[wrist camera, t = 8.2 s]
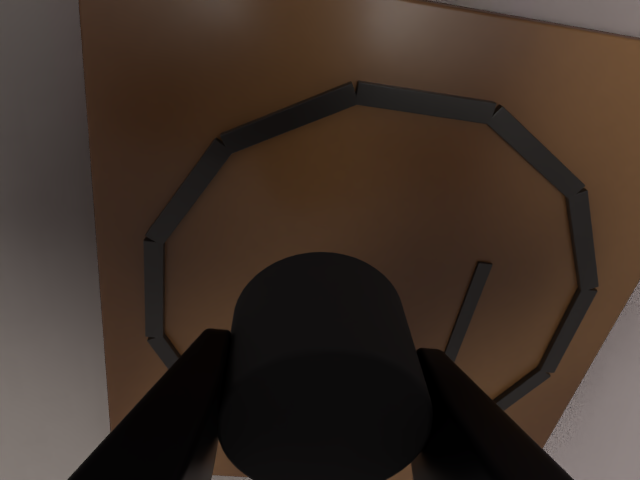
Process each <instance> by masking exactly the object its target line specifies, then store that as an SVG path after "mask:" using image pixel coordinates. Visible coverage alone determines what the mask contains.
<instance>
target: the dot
mask: <svg viewBox="0 0 640 480" xmlns="http://www.w3.org/2000/svg"><path fill="white" fill-rule="evenodd" d="M432 422H433V405H432V402H431V398H430V395H429V391H428V388H427V385H426V382H425V378H424V375H423V372H422V368H421V365H420V362H419V359H418V355H417V352H416V349H415V345H414V342H413V339H412V336H411V332H410V329H409V326H408V323H407V319H406V316H405V313H404V309H403V306H402V303H401V300H400V297H399V295H398V293H397V291H396V289H395V288H394V286H393V285H392V283H391V282H390V281H389V280H388V279H387V278H386V277H385V275H383V274H382V273H381V272H380V271H378V270H377V269H376V268H374V267H373V266H371V265H369V264H368V263H366V262H364V261H362V260H359V259H357V258H355V257H351V256H348V255H344V254H339V253H333V252H309V253H303V254H297V255H294V256H290V257H287V258H284V259H282V260H279V261H277V262H275V263H273V264H271V265H270V266H268V267H266V268H265V269H263V270H262V271H261V272H259V273H258V274H257V275H256V276H255V277H254V278H253V279H252V280H251V281H250V282H249V283H248V284H247V285H246V287H245V288H244V289H243V291H242V292H241V294H240V296H239V298H238V300H237V303H236V306H235V309H234V314H233V320H232V326H231V340H230V347H229V353H228V359H227V365H226V371H225V377H224V383H223V389H222V395H221V400H220V408H219V417H218V429H217V436H218V440H219V442H220V445H221V447H222V450H223V452H224V453H225V455H226V456H227V458H228V459H229V460H230V461H231V463H232V464H233V465H234V466H235V467H236V468H237V469H238V470H240V471H241V472H242V473H243V474H245V475H246V476H248V477H249V478H251V479H252V480H387V479H389V478H391V477H393V476H394V475H396V474H397V473H399V472H400V471H402V470H403V469H404V468H405V467H407V466H408V465H409V464H410V463H411V462H412V461H413V460H414V459H415V458H416V457H417V456H418V455H419V453H420V452H421V450H422V449H423V448H424V446H425V444H426V442H427V440H428V438H429V435H430V432H431V428H432Z"/></svg>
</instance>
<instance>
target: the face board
mask: <svg viewBox="0 0 640 480" xmlns="http://www.w3.org/2000/svg"><path fill="white" fill-rule="evenodd" d="M79 13H80V26H81V40H82V53H83V67H84V80H85V94H86V107H87V121H88V134H89V148H90V161H91V175H92V188H93V202H94V215H95V229H96V242H97V256H98V269H99V283H100V296H101V310H102V323H103V337H104V351H105V364H106V378H107V391H108V405H109V418H110V432H112V430H113V429H114V428H115V427H116V426H117V425H118V424H119V423H120V422H121V421H122V420H123V418H124V417H125V416H126V415H127V414H128V413H129V412H130V411H131V410H132V409H133V408H134V406H135V405H136V404H137V403H138V402H139V401H140V400H141V399H142V398H143V397H144V396H145V394H146V393H147V392H148V391H149V390H150V389H151V388H152V387H153V386H154V385H155V384H156V382H157V381H158V380H159V379H160V378H161V377H162V376H163V375H164V374H165V373H166V372H167V370H168V369H169V368H170V367H171V366H172V365H173V364H174V363H175V362H176V361H177V360H178V358H179V357H180V356H181V355H182V354H183V353H184V352H185V351H186V350H187V349H188V348H189V346H190V345H191V344H192V343H193V342H194V341H195V340H196V339H197V338H198V337H199V336H200V334H201V333H202V332H203V331H204V330H205V329H208V328H213V329H224V330H229V331H230V332H231V326H232V320H233V314H234V309H235V306H236V303H237V300H238V298H239V296H240V294H241V292H242V291H243V289H244V288H245V287H246V285H247V284H248V283H249V282H250V281H251V280H252V279H253V278H254V277H255V276H256V275H257V274H258V273H259V272H261V271H262V270H263V269H265V268H266V267H268V266H270V265H271V264H273V263H275V262H277V261H279V260H282V259H284V258H287V257H290V256H294V255H297V254H303V253H309V252H333V253H339V254H344V255H348V256H351V257H355V258H357V259H359V260H362V261H364V262H366V263H368V264H369V265H371V266H373V267H374V268H376V269H377V270H378V271H380V272H381V273H382V274H383V275H385V277H386V278H387V279H388V280H389V281H390V282H391V283H392V285H393V286H394V288H395V289H396V291H397V293H398V295H399V297H400V300H401V303H402V306H403V309H404V313H405V316H406V319H407V323H408V326H409V329H410V332H411V336H412V339H413V342H414V345H415V349H416V350H417V349H419V348H431V349H439V350H441V351H443V352H444V353H445V354H446V355H447V356H448V357H449V358H450V359H451V360H452V361H453V362H454V363H455V364H456V365H457V366H458V367H459V368H460V369H461V370H463V371H464V372H465V373H466V374H467V375H468V376H469V377H470V378H471V379H472V380H473V381H474V382H475V383H476V384H477V385H478V386H479V387H480V388H481V389H482V390H483V391H484V392H485V393H486V394H487V395H488V396H489V397H490V398H491V399H492V400H493V401H494V402H495V403H496V404H497V405H498V406H499V407H500V408H501V409H502V410H503V411H504V412H505V413H506V414H507V415H508V416H509V417H510V418H511V419H512V420H514V421H515V422H516V423H517V424H518V425H519V426H520V427H521V428H522V429H523V430H524V431H525V432H526V433H527V434H528V435H529V436H530V437H531V438H532V439H533V440H534V441H535V442H536V443H537V444H538V445H539V446H540V447H541V448H542V449H543V447H544V445H545V443H546V442H547V440H548V438H549V436H550V435H551V433H552V431H553V429H554V428H555V426H556V424H557V423H558V421H559V419H560V417H561V416H562V414H563V412H564V410H565V409H566V407H567V405H568V403H569V402H570V400H571V398H572V397H573V395H574V393H575V391H576V390H577V388H578V386H579V384H580V383H581V381H582V379H583V377H584V376H585V374H586V372H587V370H588V369H589V367H590V365H591V364H592V362H593V360H594V358H595V357H596V355H597V353H598V351H599V350H600V348H601V346H602V344H603V343H604V341H605V339H606V337H607V336H608V334H609V332H610V331H611V329H612V327H613V325H614V324H615V322H616V320H617V318H618V317H619V315H620V313H621V311H622V310H623V308H624V306H625V305H626V303H627V301H628V299H629V298H630V296H631V294H632V292H633V291H634V289H635V287H636V285H637V284H638V282H639V280H640V38H637V37H631V36H625V35H620V34H614V33H608V32H603V31H597V30H591V29H586V28H580V27H574V26H569V25H563V24H558V23H552V22H546V21H541V20H535V19H529V18H524V17H518V16H512V15H507V14H501V13H495V12H490V11H484V10H479V9H473V8H467V7H462V6H456V5H450V4H445V3H439V2H433V1H428V0H79ZM212 475H221V476H238V477H248V476H246V475H245V474H243V473H242V472H241V471H240V470H238V469H237V468H236V467H235V466H234V465H233V464H232V463H231V461H230V460H229V459H228V458H227V456H226V455H225V453H224V452H223V450H222V447H221V445H220V442H219V440H218V446H217V453H216V459H215V464H214V469H213V473H212ZM387 480H413V475H412V467H411V463H410V464H409V465H408V466H407V467H405V468H404V469H403V470H402V471H400V472H399V473H397V474H396V475H394V476H393V477H391V478H389V479H387Z"/></svg>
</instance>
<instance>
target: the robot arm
mask: <svg viewBox="0 0 640 480" xmlns="http://www.w3.org/2000/svg"><path fill="white" fill-rule="evenodd" d="M230 340H231V332H230V331H229V330H224V329H213V328H208V329H205V330H204V331H203V332H202V333H201V334H200V336H199V337H198V338H197V339H196V340H195V341H194V342H193V343H192V344H191V345H190V346H189V348H188V349H187V350H186V351H185V352H184V353H183V354H182V355H181V356H180V357H179V358H178V360H177V361H176V362H175V363H174V364H173V365H172V366H171V367H170V368H169V369H168V370H167V372H166V373H165V374H164V375H163V376H162V377H161V378H160V379H159V380H158V381H157V382H156V384H155V385H154V386H153V387H152V388H151V389H150V390H149V391H148V392H147V393H146V394H145V396H144V397H143V398H142V399H141V400H140V401H139V402H138V403H137V404H136V405H135V406H134V408H133V409H132V410H131V411H130V412H129V413H128V414H127V415H126V416H125V417H124V418H123V420H122V421H121V422H120V423H119V424H118V425H117V426H116V427H115V428H114V429H113V430H112V432H111V433H110V434H109V435H108V436H107V437H106V438H105V439H104V440H103V441H102V442H101V444H100V445H99V446H98V447H97V448H96V449H95V450H94V451H93V452H92V453H91V454H90V456H89V457H88V458H87V459H86V460H85V461H84V462H83V463H82V464H81V465H80V466H79V468H78V469H77V470H76V471H75V472H74V473H73V474H72V475H71V476H70V477H69V478H68V480H211V478H212V473H213V469H214V464H215V459H216V453H217V446H218V436H217V429H218V417H219V408H220V400H221V395H222V389H223V383H224V377H225V371H226V365H227V359H228V353H229V347H230ZM416 352H417V355H418V359H419V362H420V365H421V368H422V372H423V375H424V378H425V382H426V385H427V388H428V391H429V395H430V398H431V402H432V405H433V422H432V428H431V432H430V435H429V438H428V440H427V442H426V444H425V446H424V448H423V449H422V450H421V452H420V453H419V455H418V456H417V457H416V458H415V459H414V460H413V461H412V462H411V467H412V475H413V480H574V479H573V478H572V477H571V476H570V475H569V474H568V473H567V472H566V471H565V470H563V469H562V468H561V467H560V466H559V465H558V464H557V463H556V462H555V461H554V460H553V459H552V458H551V457H550V456H549V455H548V454H547V453H546V452H545V451H544V450H543V449H542V448H541V447H540V446H539V445H538V444H537V443H536V442H535V441H534V440H533V439H532V438H531V437H530V436H529V435H528V434H527V433H526V432H525V431H524V430H523V429H522V428H521V427H520V426H519V425H518V424H517V423H516V422H515V421H514V420H512V419H511V418H510V417H509V416H508V415H507V414H506V413H505V412H504V411H503V410H502V409H501V408H500V407H499V406H498V405H497V404H496V403H495V402H494V401H493V400H492V399H491V398H490V397H489V396H488V395H487V394H486V393H485V392H484V391H483V390H482V389H481V388H480V387H479V386H478V385H477V384H476V383H475V382H474V381H473V380H472V379H471V378H470V377H469V376H468V375H467V374H466V373H465V372H464V371H463V370H461V369H460V368H459V367H458V366H457V365H456V364H455V363H454V362H453V361H452V360H451V359H450V358H449V357H448V356H447V355H446V354H445V353H444V352H443V351H441V350H439V349H431V348H419V349H417V350H416Z"/></svg>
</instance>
